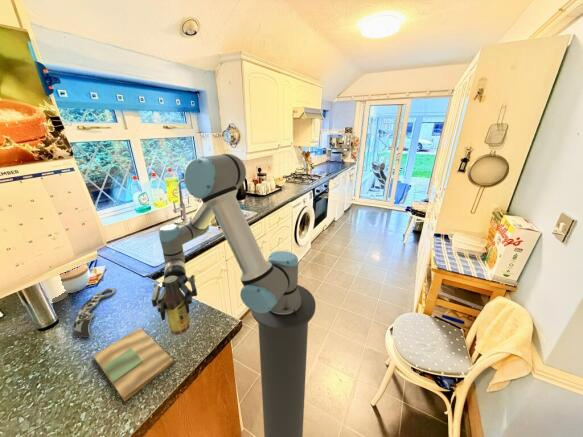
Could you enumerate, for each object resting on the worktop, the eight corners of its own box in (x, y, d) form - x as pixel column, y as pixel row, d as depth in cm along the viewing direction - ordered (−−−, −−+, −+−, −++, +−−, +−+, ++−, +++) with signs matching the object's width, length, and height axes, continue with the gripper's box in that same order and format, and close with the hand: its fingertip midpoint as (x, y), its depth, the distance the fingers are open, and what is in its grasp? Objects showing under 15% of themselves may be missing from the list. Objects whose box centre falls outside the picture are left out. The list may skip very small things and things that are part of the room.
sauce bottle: (186, 335, 77) (175, 286, 70) (167, 336, 77) (154, 286, 70) (193, 320, 83) (184, 273, 76) (175, 321, 83) (164, 273, 76)
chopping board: (173, 362, 75) (172, 358, 74) (124, 402, 64) (123, 397, 63) (140, 330, 86) (139, 326, 86) (94, 358, 75) (93, 355, 75)
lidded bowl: (78, 297, 102) (69, 275, 98) (49, 296, 102) (39, 275, 98) (100, 279, 114) (93, 260, 110) (74, 279, 114) (66, 259, 110)
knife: (90, 334, 83) (55, 340, 79) (91, 338, 83) (56, 344, 80) (119, 286, 108) (92, 289, 105) (119, 289, 108) (93, 292, 105)
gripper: (202, 275, 97) (209, 313, 77) (149, 287, 89) (141, 332, 69) (199, 259, 94) (206, 294, 74) (144, 270, 86) (135, 313, 67)
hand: (175, 312), depth 72 cm, fingers closed on sauce bottle, 6 cm apart
